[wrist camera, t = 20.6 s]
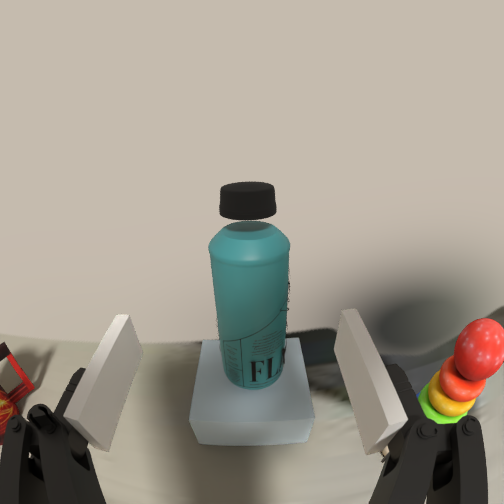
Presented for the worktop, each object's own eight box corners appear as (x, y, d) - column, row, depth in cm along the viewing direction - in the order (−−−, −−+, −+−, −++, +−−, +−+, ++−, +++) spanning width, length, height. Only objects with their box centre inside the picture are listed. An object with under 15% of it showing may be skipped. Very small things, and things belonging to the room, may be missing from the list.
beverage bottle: (248, 410, 23) (237, 198, 15) (211, 371, 28) (185, 184, 19) (296, 378, 27) (314, 184, 18) (257, 347, 31) (254, 173, 23)
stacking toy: (366, 456, 21) (442, 337, 13) (394, 409, 26) (453, 284, 19) (421, 479, 16) (529, 368, 8) (442, 428, 21) (521, 309, 14)
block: (306, 442, 24) (314, 417, 22) (199, 444, 24) (188, 419, 22) (295, 368, 35) (298, 337, 33) (208, 370, 35) (202, 339, 33)
